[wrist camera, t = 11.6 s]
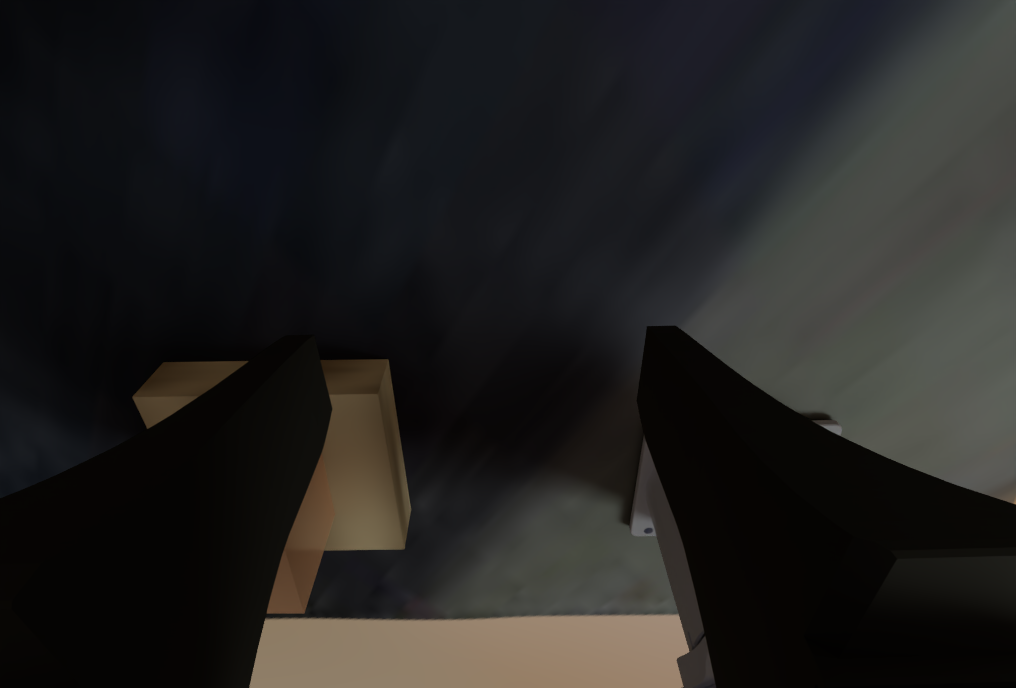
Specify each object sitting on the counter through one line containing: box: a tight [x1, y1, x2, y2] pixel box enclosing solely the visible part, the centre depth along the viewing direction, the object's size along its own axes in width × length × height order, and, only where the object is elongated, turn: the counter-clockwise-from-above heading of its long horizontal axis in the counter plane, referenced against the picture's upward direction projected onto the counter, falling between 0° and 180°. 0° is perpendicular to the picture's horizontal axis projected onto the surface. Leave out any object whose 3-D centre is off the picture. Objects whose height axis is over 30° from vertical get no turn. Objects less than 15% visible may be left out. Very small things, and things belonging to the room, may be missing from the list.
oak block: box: [133, 359, 411, 550], centre depth 26 cm, size 10×10×3 cm
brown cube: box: [267, 453, 335, 613], centre depth 23 cm, size 5×5×5 cm
